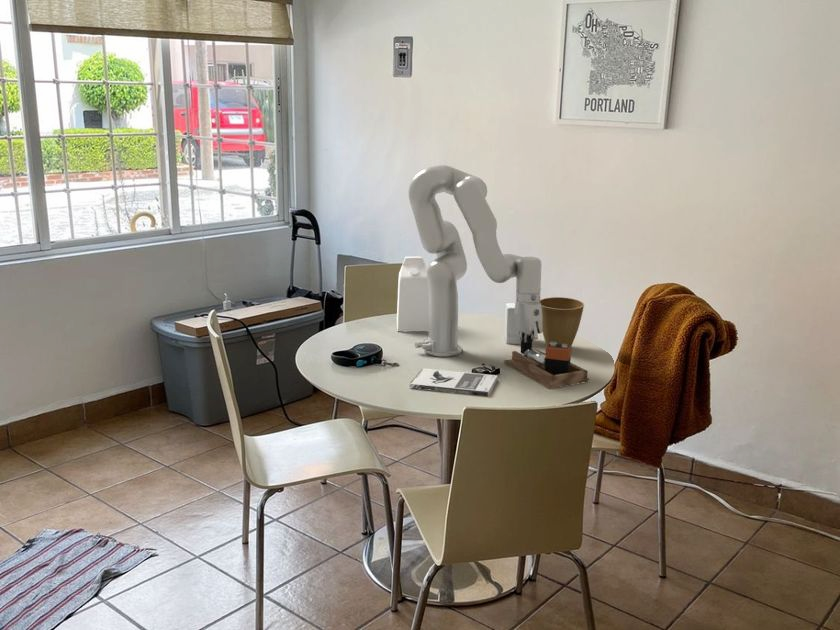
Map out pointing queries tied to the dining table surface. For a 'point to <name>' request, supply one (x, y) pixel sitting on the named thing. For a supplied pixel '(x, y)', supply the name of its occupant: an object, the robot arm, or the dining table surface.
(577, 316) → the plant pot
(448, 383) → the book
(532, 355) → the shaft
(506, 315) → the supplement box
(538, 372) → the tray
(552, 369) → the battery
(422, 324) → the milk
